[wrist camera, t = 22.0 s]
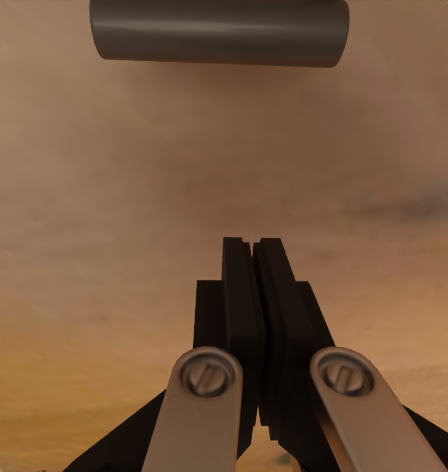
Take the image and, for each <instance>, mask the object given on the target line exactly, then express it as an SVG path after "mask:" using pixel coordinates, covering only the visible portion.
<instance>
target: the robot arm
mask: <svg viewBox="0 0 448 472" xmlns="http://www.w3.org/2000/svg"><path fill="white" fill-rule="evenodd" d="M257 408H258V409H259V416H260V423H261V426H268V427H269V434H270V440H278V443H279V445H280V446H281V447H283V448H284V449H285V450H286V451H287V452H288V453H290V461H291V466H292V469H293V472H448V432H446V431H444V430H443V429H441V428H440V427H438V426H436V425H435V424H433V423H431V422H430V421H428V420H427V419H425V418H423V417H422V416H420V415H419V414H417V413H415V412H414V411H412V410H410V409H409V408H407V407H406V406H404V405H402V404H401V402H400V401H399V400H398V398H397V397H396V395H395V394H394V392H393V391H392V390H391V388H390V387H389V385H388V384H387V382H386V381H385V379H384V378H383V377H382V375H381V374H380V372H379V371H378V369H377V368H376V367H375V366H374V365H373V364H372V363H371V361H370V360H368V359H367V358H365V357H364V356H363V355H361V354H360V353H357V352H355V351H353V350H351V349H347V348H343V347H336V346H335V343H334V341H333V339H332V336H331V334H330V331H329V329H328V327H327V324H326V322H325V319H324V317H323V315H322V312H321V310H320V307H319V305H318V302H317V300H316V298H315V295H314V293H313V290H312V288H311V286H310V284H309V282H307V281H295V278H294V275H293V272H292V269H291V267H290V264H289V261H288V258H287V256H286V253H285V250H284V247H283V244H282V242H281V239H280V238H261V240H260V243H254V245H253V256H252V255H251V250H250V245H249V242H243V241H242V238H240V237H224V238H223V256H222V279H221V280H197V290H196V306H195V322H194V339H193V349H191V350H190V351H188V352H186V353H184V354H183V355H182V356H181V357H180V358H179V359H178V360H177V361H176V363H175V365H174V367H173V370H172V373H171V376H170V379H169V383H168V386H167V389H165V390H164V391H163V392H161V393H160V394H159V395H158V396H156V397H155V398H154V399H152V400H151V401H150V402H149V403H147V404H146V405H145V406H143V407H142V408H141V409H140V410H138V411H137V412H136V413H134V414H133V415H132V416H131V417H129V418H128V419H127V420H125V421H124V422H123V423H122V424H120V425H119V426H118V427H116V428H115V429H114V430H113V431H111V432H110V433H109V434H107V435H106V436H105V437H104V438H102V439H101V440H100V441H98V442H97V443H96V444H94V445H93V446H92V447H91V448H89V449H88V450H87V451H85V452H84V453H83V454H82V455H80V456H79V457H78V458H76V459H75V460H74V461H73V462H72V463H71V464H70V465H69V466H68V467H67V468H66V469H65V470H64V471H62V472H235V471H236V461H237V460H238V458H239V457H240V456H241V455H242V454H243V453H244V452H245V450H246V449H247V448H248V447H249V446H250V445H251V439H252V432H253V426H255V423H256V416H257ZM39 472H46V470H43V471H39Z"/></svg>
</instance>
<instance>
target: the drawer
mask: <svg viewBox="0 0 448 472" xmlns="http://www.w3.org/2000/svg"><path fill="white" fill-rule="evenodd" d="M89 10H90V23H91V30H92V35H93V39H94V43H95V46H96V48H97V51H98V53H99V55H100V56H101V57H102V58H103V59H107V60H134V61H160V62H187V63H213V64H240V65H266V66H293V67H319V68H332V67H334V66H336V65H337V63H338V62H339V60H340V58H341V56H342V54H343V51H344V48H345V45H346V41H347V36H348V31H349V7H348V4H347V2H346V1H344V0H90V6H89Z"/></svg>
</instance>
